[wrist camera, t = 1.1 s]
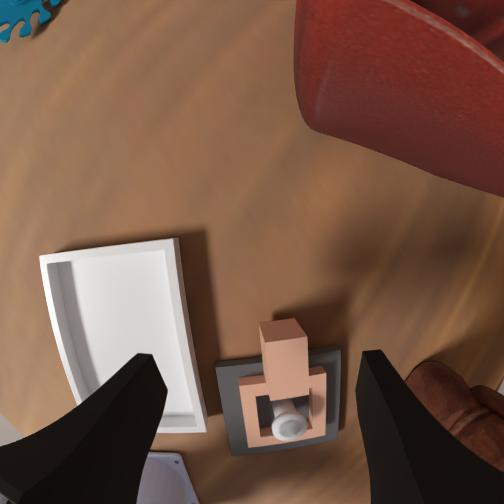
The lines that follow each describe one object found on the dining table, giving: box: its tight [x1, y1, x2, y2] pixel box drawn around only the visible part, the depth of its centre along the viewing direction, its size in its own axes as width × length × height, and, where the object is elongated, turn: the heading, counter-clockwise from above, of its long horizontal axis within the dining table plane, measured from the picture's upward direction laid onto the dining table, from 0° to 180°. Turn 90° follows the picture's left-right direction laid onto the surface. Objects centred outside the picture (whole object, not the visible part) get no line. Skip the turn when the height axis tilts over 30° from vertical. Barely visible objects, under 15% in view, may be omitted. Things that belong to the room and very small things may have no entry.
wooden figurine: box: [405, 362, 504, 472], centre depth 14 cm, size 12×6×18 cm, turn 166°
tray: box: [39, 238, 208, 433], centre depth 19 cm, size 14×10×2 cm
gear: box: [0, 0, 61, 43], centre depth 14 cm, size 11×6×10 cm
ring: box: [239, 318, 326, 448], centre depth 18 cm, size 10×6×4 cm, turn 6°
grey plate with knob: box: [215, 345, 341, 456], centre depth 19 cm, size 9×9×4 cm
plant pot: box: [294, 0, 504, 197], centre depth 11 cm, size 19×19×17 cm
